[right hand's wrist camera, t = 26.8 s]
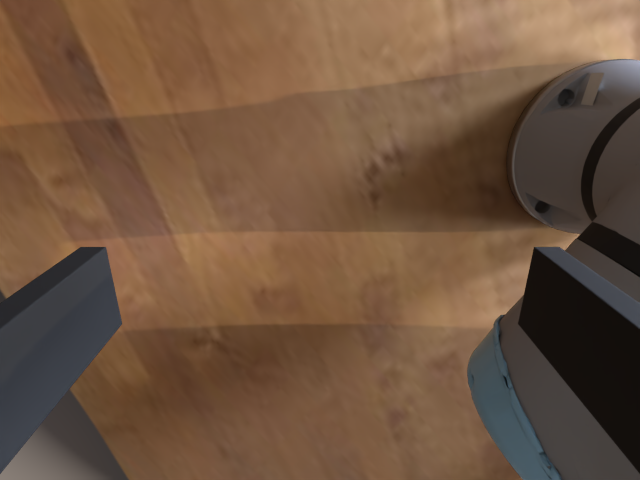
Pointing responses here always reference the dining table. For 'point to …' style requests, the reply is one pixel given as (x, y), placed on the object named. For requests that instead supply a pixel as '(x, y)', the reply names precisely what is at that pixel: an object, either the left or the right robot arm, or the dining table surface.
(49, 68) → the dining table surface
